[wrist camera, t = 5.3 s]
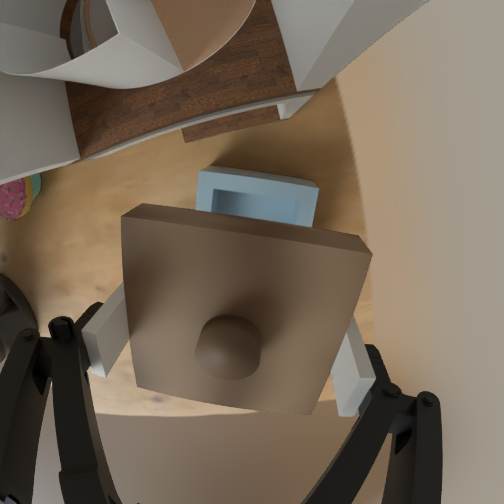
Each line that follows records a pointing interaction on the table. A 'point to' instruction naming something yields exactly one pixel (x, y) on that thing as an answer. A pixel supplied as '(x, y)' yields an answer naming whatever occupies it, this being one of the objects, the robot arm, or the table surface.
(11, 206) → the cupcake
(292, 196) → the dish
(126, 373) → the table surface
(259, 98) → the white stacked pedestal
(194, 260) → the lid
